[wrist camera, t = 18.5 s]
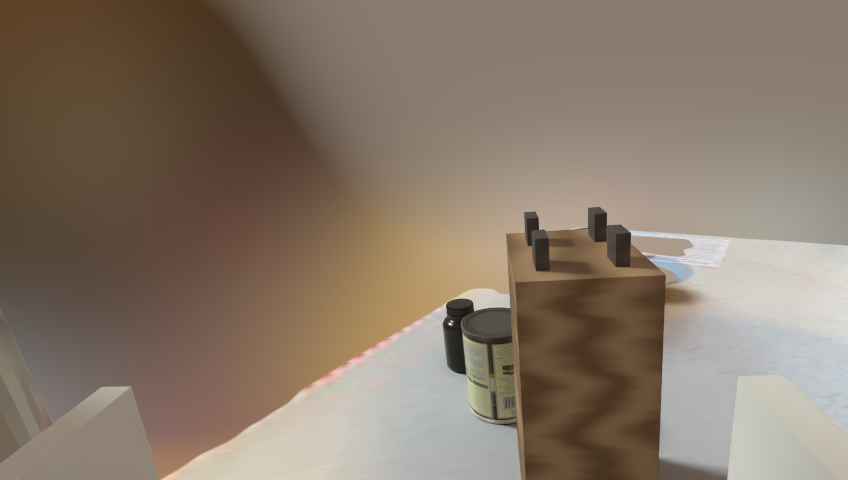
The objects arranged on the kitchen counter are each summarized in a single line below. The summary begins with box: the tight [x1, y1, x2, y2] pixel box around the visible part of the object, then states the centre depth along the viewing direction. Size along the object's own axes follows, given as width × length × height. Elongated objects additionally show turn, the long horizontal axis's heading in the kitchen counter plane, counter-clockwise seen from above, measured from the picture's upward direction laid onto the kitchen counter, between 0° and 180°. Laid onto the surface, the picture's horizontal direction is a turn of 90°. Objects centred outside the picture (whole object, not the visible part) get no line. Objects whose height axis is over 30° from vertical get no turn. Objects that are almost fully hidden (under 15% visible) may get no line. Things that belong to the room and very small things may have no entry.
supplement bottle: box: [443, 299, 474, 373], centre depth 83 cm, size 7×7×12 cm
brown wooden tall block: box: [506, 207, 666, 480], centre depth 49 cm, size 12×16×33 cm
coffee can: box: [461, 308, 517, 424], centre depth 70 cm, size 10×10×14 cm
